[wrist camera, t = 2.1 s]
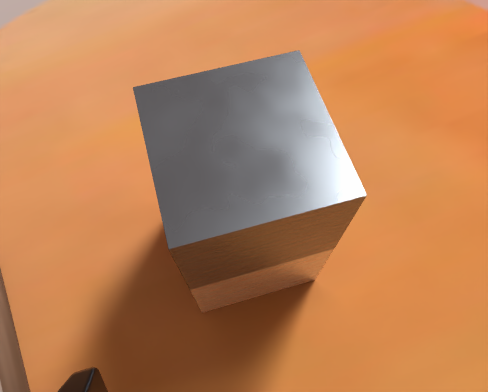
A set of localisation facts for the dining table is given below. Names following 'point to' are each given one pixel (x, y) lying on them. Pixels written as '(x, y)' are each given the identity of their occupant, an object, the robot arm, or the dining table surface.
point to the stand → (10, 350)
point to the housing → (247, 177)
